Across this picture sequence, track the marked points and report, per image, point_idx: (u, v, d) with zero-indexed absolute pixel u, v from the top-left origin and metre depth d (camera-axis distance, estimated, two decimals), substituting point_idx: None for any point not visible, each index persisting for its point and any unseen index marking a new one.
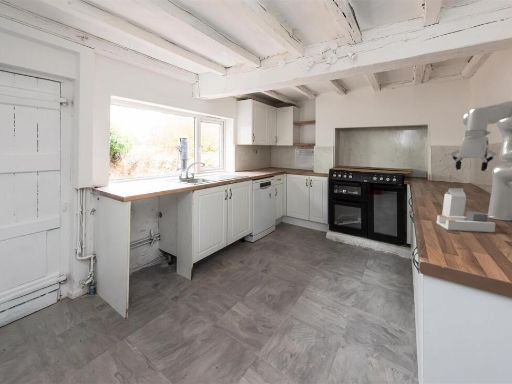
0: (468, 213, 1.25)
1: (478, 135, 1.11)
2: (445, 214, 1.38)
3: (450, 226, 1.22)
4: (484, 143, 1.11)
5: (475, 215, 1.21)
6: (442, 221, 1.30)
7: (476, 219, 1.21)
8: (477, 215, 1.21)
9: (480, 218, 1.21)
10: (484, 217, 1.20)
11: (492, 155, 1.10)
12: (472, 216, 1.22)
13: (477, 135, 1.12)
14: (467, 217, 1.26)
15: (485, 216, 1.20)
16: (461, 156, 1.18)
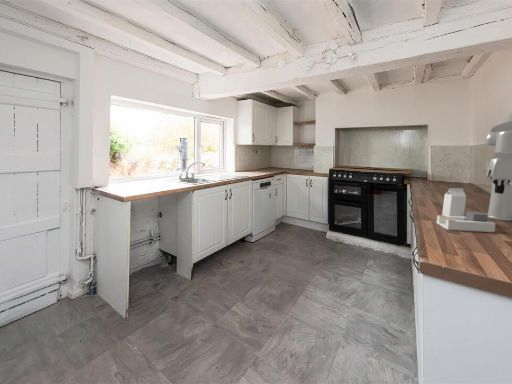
0: (468, 213, 1.25)
1: None
2: (445, 214, 1.38)
3: (450, 226, 1.22)
4: None
5: (475, 215, 1.21)
6: (442, 221, 1.30)
7: (476, 219, 1.21)
8: (477, 215, 1.21)
9: (480, 218, 1.21)
10: (484, 217, 1.20)
11: (511, 180, 1.17)
12: (472, 216, 1.22)
13: None
14: (467, 217, 1.26)
15: (485, 216, 1.20)
16: (495, 177, 1.17)
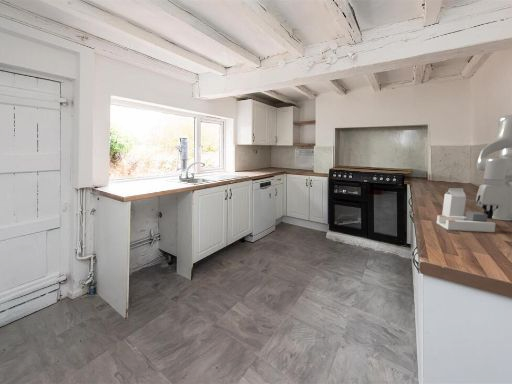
0: (468, 213, 1.25)
1: (502, 184, 1.16)
2: (445, 214, 1.38)
3: (450, 226, 1.22)
4: (505, 192, 1.17)
5: (475, 215, 1.21)
6: (442, 221, 1.30)
7: (476, 219, 1.21)
8: (477, 215, 1.21)
9: (480, 218, 1.21)
10: (484, 217, 1.20)
11: (499, 206, 1.20)
12: (472, 216, 1.22)
13: (502, 184, 1.16)
14: (467, 217, 1.26)
15: (485, 216, 1.20)
16: (484, 203, 1.20)
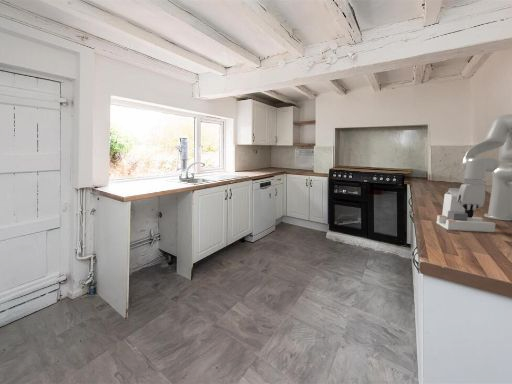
0: (449, 212, 1.27)
1: (482, 184, 1.18)
2: (445, 214, 1.38)
3: (450, 226, 1.22)
4: (484, 191, 1.19)
5: (456, 214, 1.23)
6: (442, 221, 1.30)
7: (457, 218, 1.23)
8: (457, 214, 1.23)
9: (460, 217, 1.23)
10: (464, 216, 1.22)
11: (479, 205, 1.22)
12: (453, 215, 1.24)
13: (482, 184, 1.18)
14: (448, 216, 1.28)
15: (465, 215, 1.22)
16: (464, 202, 1.22)
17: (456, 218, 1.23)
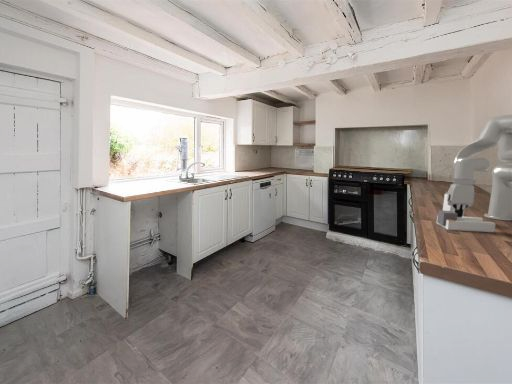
0: (440, 212, 1.28)
1: (471, 184, 1.19)
2: None
3: (450, 226, 1.22)
4: (473, 191, 1.20)
5: (445, 214, 1.24)
6: None
7: (446, 218, 1.24)
8: (447, 214, 1.24)
9: (450, 217, 1.24)
10: (454, 216, 1.23)
11: (469, 205, 1.23)
12: (443, 215, 1.25)
13: (470, 184, 1.19)
14: (439, 216, 1.29)
15: (455, 215, 1.23)
16: (454, 202, 1.23)
17: (446, 218, 1.24)
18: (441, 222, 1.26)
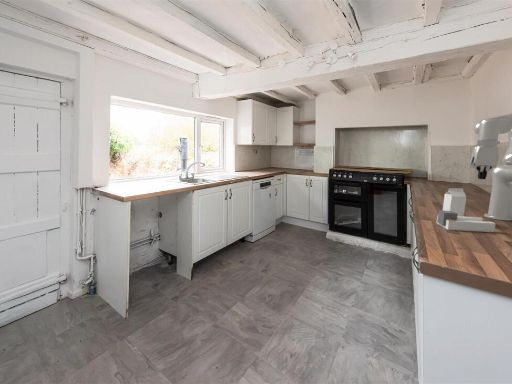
0: (440, 212, 1.28)
1: (496, 144, 1.20)
2: None
3: (450, 226, 1.22)
4: (498, 152, 1.21)
5: (446, 214, 1.24)
6: None
7: (447, 218, 1.24)
8: (447, 214, 1.24)
9: (450, 217, 1.24)
10: (454, 216, 1.23)
11: (492, 166, 1.24)
12: (443, 215, 1.25)
13: (495, 144, 1.20)
14: (439, 216, 1.29)
15: (455, 215, 1.23)
16: (478, 164, 1.24)
17: (446, 218, 1.24)
18: (441, 222, 1.26)
